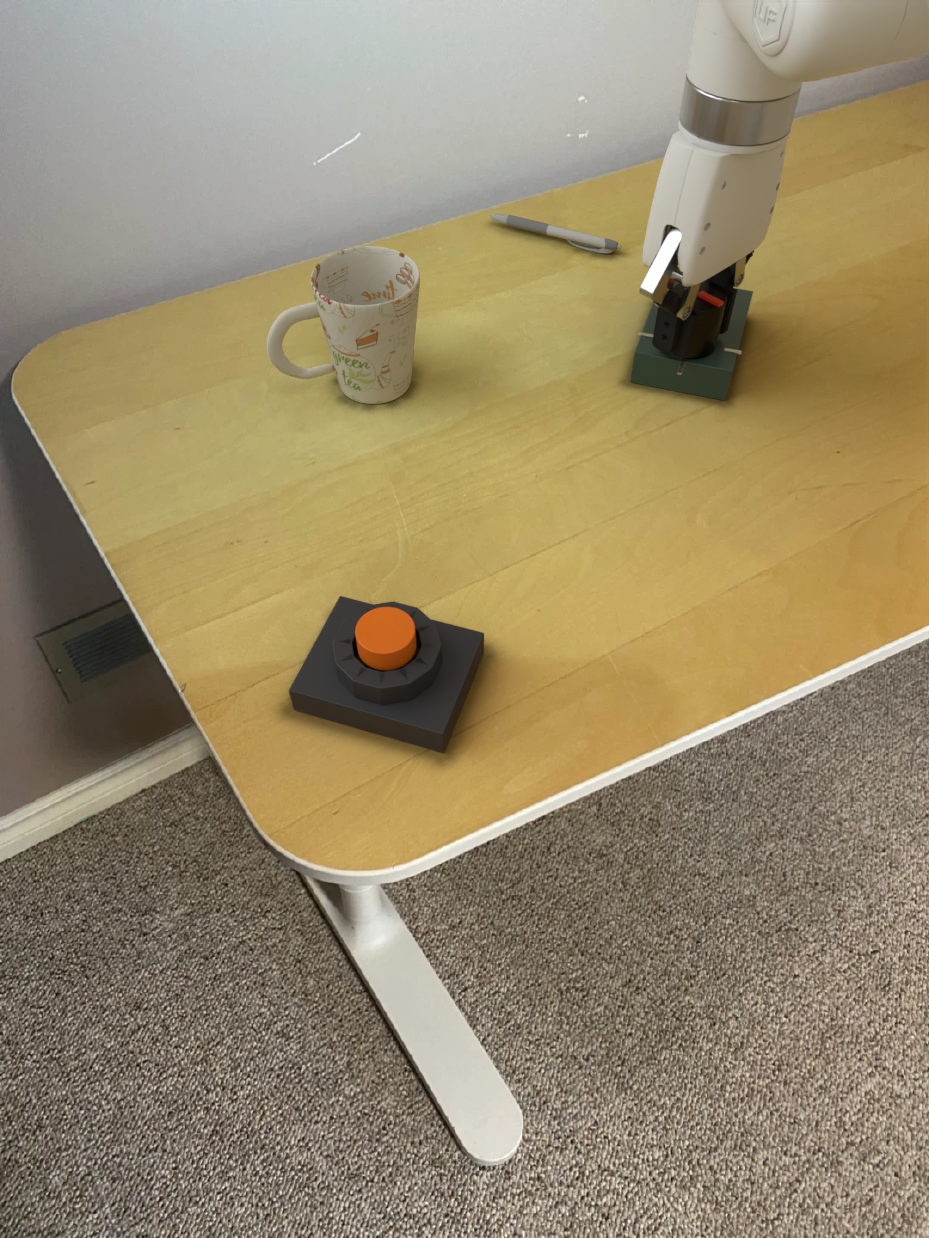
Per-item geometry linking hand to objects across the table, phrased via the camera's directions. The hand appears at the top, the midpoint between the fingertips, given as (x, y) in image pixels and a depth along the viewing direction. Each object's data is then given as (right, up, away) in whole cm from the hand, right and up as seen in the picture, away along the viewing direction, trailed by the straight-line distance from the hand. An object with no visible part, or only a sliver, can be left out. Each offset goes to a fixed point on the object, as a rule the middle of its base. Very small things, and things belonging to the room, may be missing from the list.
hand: (689, 337), depth 79 cm
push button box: (-23, -27, -17) cm, 40 cm away
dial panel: (+1, 0, +5) cm, 5 cm away
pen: (-10, +14, +17) cm, 24 cm away
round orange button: (-23, -25, -20) cm, 39 cm away
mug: (-28, -4, +2) cm, 28 cm away
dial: (0, 0, 0) cm, 1 cm away
